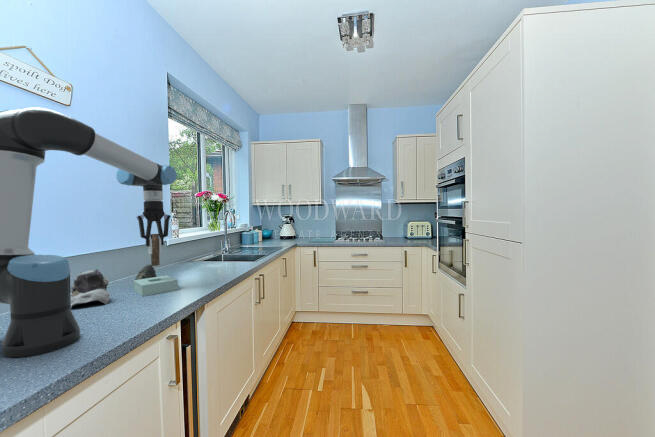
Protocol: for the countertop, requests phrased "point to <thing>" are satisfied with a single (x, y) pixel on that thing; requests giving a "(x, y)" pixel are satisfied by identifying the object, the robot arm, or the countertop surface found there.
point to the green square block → (155, 285)
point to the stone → (89, 288)
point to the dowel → (155, 250)
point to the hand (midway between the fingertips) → (155, 253)
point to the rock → (146, 273)
